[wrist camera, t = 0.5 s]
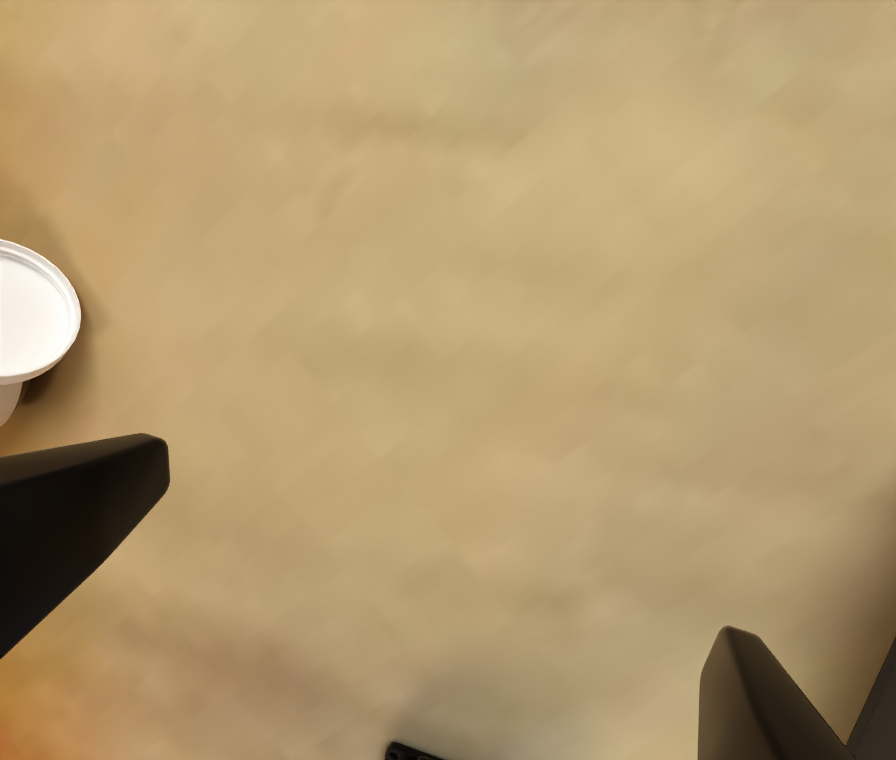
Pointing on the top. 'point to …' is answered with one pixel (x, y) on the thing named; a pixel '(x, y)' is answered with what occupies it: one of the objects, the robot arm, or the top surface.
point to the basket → (878, 718)
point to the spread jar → (31, 321)
